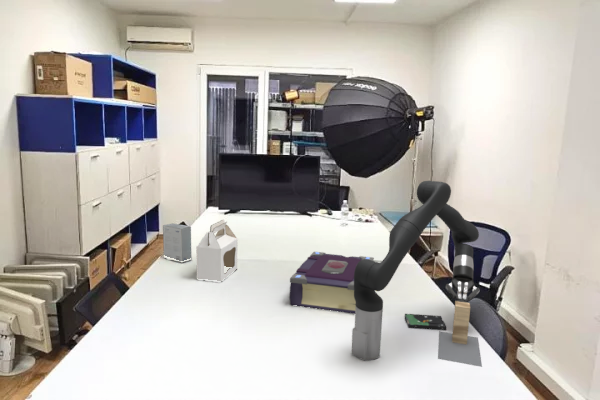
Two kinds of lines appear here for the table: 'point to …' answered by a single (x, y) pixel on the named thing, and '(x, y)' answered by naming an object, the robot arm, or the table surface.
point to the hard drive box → (177, 241)
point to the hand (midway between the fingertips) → (461, 309)
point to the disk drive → (425, 322)
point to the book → (325, 282)
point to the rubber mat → (459, 350)
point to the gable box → (217, 253)
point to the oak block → (461, 322)
